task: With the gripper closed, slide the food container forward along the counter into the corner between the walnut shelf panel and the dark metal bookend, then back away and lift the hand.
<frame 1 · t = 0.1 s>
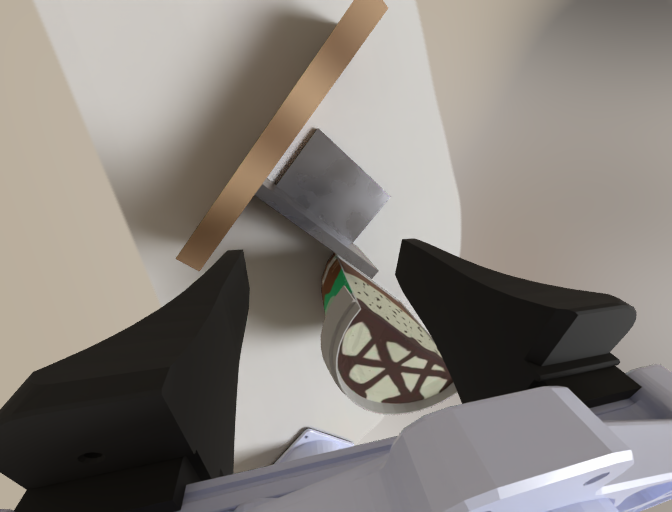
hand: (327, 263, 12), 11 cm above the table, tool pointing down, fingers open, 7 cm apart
bookend: (313, 219, 21), on the table
food container: (348, 300, 26), on the table
shelf panel: (273, 145, 19), on the table
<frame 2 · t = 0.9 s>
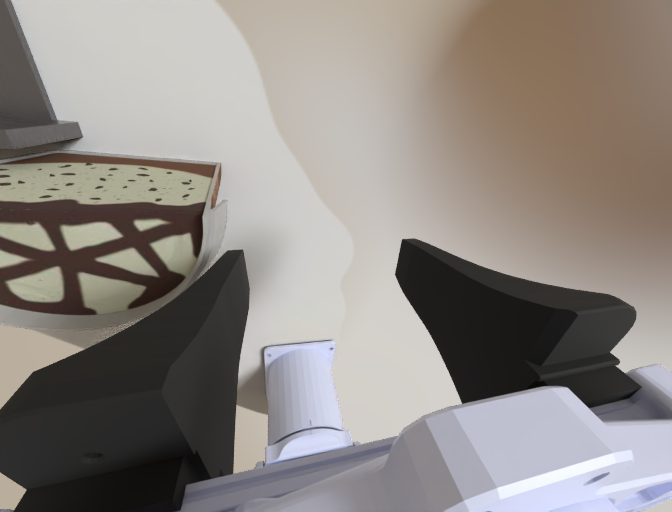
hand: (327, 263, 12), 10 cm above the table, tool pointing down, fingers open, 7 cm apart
food container: (156, 200, 19), on the table
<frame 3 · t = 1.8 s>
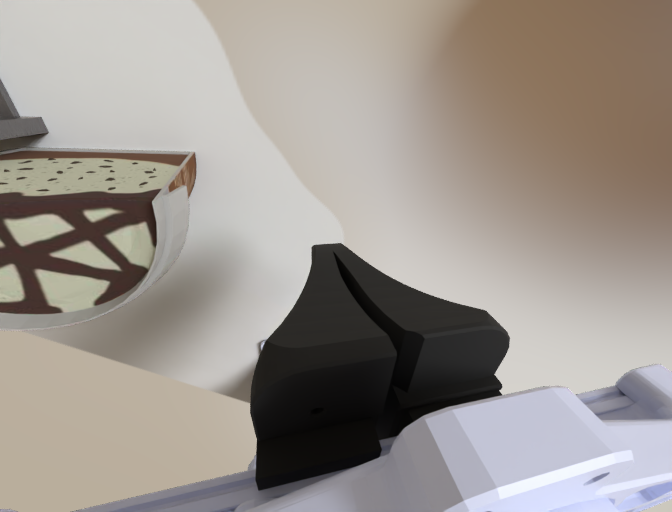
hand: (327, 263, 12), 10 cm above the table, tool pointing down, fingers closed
food container: (132, 195, 18), on the table
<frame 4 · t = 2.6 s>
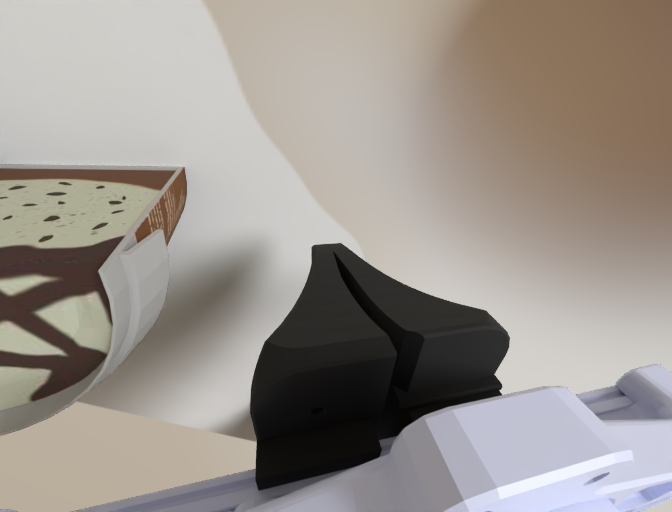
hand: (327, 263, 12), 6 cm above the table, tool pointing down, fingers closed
food container: (107, 220, 14), on the table
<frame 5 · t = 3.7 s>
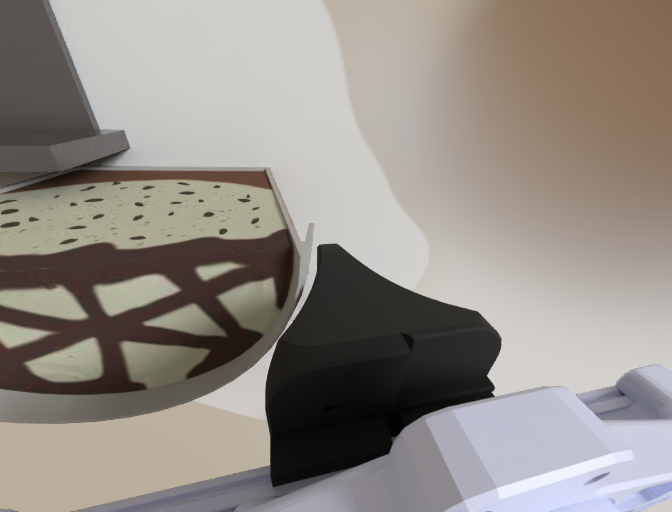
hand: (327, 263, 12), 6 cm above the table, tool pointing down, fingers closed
bookend: (0, 137, 12), on the table
food container: (193, 219, 15), on the table, touching gripper
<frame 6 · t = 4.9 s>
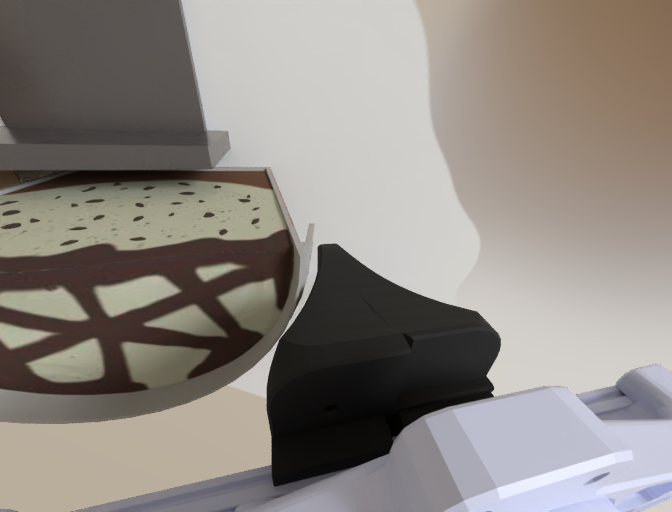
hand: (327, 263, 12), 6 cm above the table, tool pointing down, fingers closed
bookend: (120, 137, 12), on the table
food container: (194, 219, 15), on the table, touching gripper
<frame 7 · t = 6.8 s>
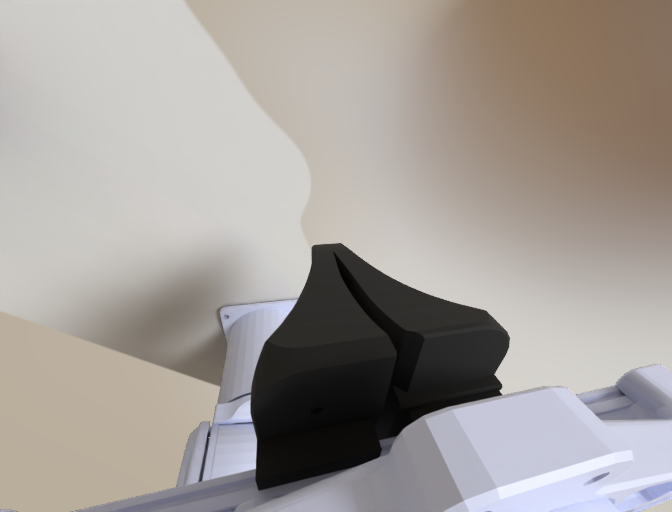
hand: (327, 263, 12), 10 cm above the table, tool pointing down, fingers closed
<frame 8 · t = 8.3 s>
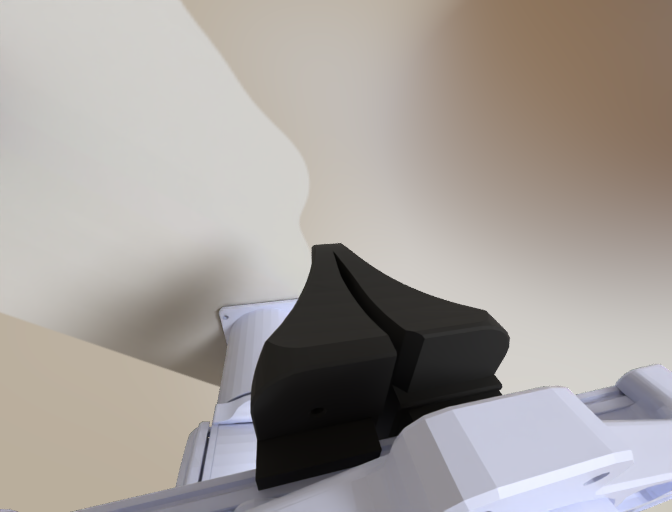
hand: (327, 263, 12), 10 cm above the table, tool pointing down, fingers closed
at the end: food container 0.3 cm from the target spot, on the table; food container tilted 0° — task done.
